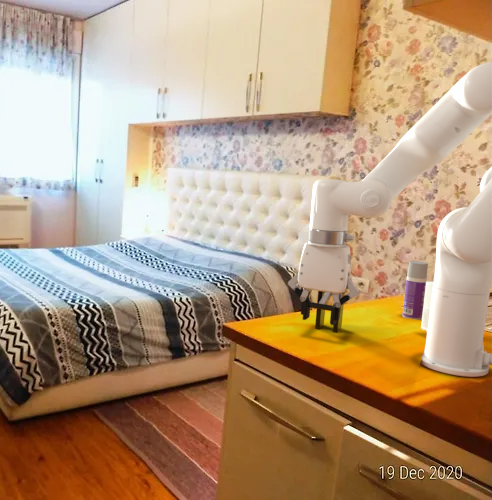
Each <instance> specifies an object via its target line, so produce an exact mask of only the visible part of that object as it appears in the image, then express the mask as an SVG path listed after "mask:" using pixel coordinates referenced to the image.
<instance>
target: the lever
mask: <svg viewBox="0 0 492 500" xmlns="http://www.w3.org/2000/svg"><path fill="white" fill-rule="evenodd" d="M331 297H333V296H332V293H330V292H325V294H324V296H323V297H322V299H321V300H320V302H319V303H317V302H315V301H314V302H312V301H311V302H309V303H308V307H310V309H315V310H317V309H322V310H325V311H328V312H331V308H332V306H333V305H332V304H328V302H329V301H330V298H331Z"/></svg>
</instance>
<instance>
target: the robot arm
mask: <svg viewBox="0 0 492 500" xmlns="http://www.w3.org/2000/svg"><path fill="white" fill-rule="evenodd" d="M490 116H492V61H489V62H483V63H481V64H479V65H476V66H475V67H473V68H472V69H470V70H469V71H468V72H466V73H465V75H463V76H462V77H461V78H460V79H459V80H458V81H457V82H456V83H454V85H452V86H451V88H450V89H449V90H447V92H446V93H444V95H443V96H442V97H441V98H440V99H439V100H438V101H437V102H436V103H435V104H434V105H433V106H432V107H430V109H429V110H427V112H426V113H425V114H424V115H423V116H422V117H421V118H420V119H419V120H418V121H417V122H416V123H414V125H413V126H411V128H410V129H408V130H407V132H406V133H405V134H404V135H403V136H402V137H401V139H399V141H398V142H397V144H396V145H395V146H394V148H393V149H392V150H391V151H389V153H388V154H387V155H386V156H385V157H384V158H383V159H381V161H380V162H379V163H378V164H377V165H376V166H375V167H374V168H373V169H372V170H371V171H370V172H369V173H368V174H367V175H366V176H365V177H364V178H363V179H362V180H360V181H357V180H356V181H348V180H345V179H330V178H321V179H317V180H316V181H315V182H314V183H313V185H312V195H311V206H310V216H309V217H310V218H309V228H308V241H306V242H305V243H304V245H303V249H302V252H301V256H300V261H299V267H298V272H297V273H296V274H294V275H293V277H292V278H290V279H289V280H288V282H287V285H288V286H289V287H290V288H291V289H292V290H293V291H294V293H295V294H296V295H297V297H298V298H299V300H300V301H301V304H300V305H301V306H300V315H301V316H302V320H303V321H306V320H309V318H310V315H311V308H310V307H308V303H309V302H312V300H311V299H310V295H311V293H312V291H317V292H318V291H323V292H330V293H332V296H331V297H332V300H333V305H332V308H331V311H330V318H329V325H331V326H333V325H334V324H335V323H336V321H339V318H340V308H341V305H343V304H344V305H345V304H346V303H347V302H348V301H351V300H352V299H353V298H355V297H357V296H359V294H360V290H359V289H358V287H357V286H356V284H355V283H354V281H353V280H352V279H351V270H352V269H351V268H352V266H351V264H352V263H351V262H352V261H351V259H352V258H351V247H350V245H347V244H348V243H350V242H354V239H355V235H353V234H351V233H349V231H348V225H349V215H351V216H357V217H360V218H361V217H362V218H368V219H374V218H378V217H380V216H383V215H384V214H386V213H387V212H388V211H389V209H390V208H391V206H392V203H393V200H394V199H396V198H397V196H399V195H400V194H401V193H402V192H403V191H404V190H405V189H406V188H407V187H408V186H409V185H411V184H412V183H413V182H414V181H415V180H417V178H419V177H420V176H421V175H423V174H424V173H425V172H427V171H428V170H430V169H432V168H434V167H435V166H437V165H439V164H440V163H441V162H442V161H444V159H446V158H447V157H448V156H449V155H450V154H451V153H452V152H453V151H454V150H455V149H457V147H459V146H460V145H461V143H462V142H464V141H465V140H466V139H467V138H468V137H469V136H470V135H471V134H472V133H473V132H474V131H475V130H477V128H479V127H480V126H481V125H483V123H484V122H485V121H486V120H487V119H488V118H489V117H490ZM435 247H436V250H435V251H436V252H435V267H434V274H433V281H434V283H433V289H432V297H431V305H430V313H429V321H428V329H427V331H426V338H425V345H424V349H423V352H422V355H421V359H420V362H419V364H420V365H421V366H423V367H425V368H428V369H430V370H433V371H436V372H439V373H444V374H447V375H451V376H452V375H453V376H457V377H458V376H459V377H467V378H468V377H469V378H478V377H483V376H486V375H487V374H489V371H490V370H489V369H490V366H492V353H489V352H488V351H486V350H485V345H484V336H485V330H486V329H485V328H486V323H487V316H488V309H489V302H490V294H491V290H492V166H490V167H489V169H487V170H486V172H485V173H484V174H483V176H482V178H481V180H480V183H479V193H478V194H477V195H476V196H475V198H474V199H473V200H472V201H471V202H470V204H469V205H468V206H464V207H459V208H456V209H453V210H452V211H450V212H449V213H448V214H447V215H445V216H444V218H443V219H442V220H441V221H440V224H439V226H438V229H437V234H436V245H435ZM345 290H346V291H347V290H349V292H348V293H345V295H344V296H343V297H342V295H341V293H343V292H345Z"/></svg>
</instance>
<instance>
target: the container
mask: <svg viewBox="0 0 492 500" xmlns="http://www.w3.org/2000/svg"><path fill="white" fill-rule="evenodd" d="M428 267H429V263H428V262H426V261H420V260H409V261H408V266H407V273H406V279H405V289H404V298H403V305H402V306H403V308H402V315H401V316H402V317H403V318H404V319H410V320H416V321H422V314H423V305H424V296H425V287H426V282H428V280H427V279H428Z"/></svg>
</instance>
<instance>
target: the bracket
mask: <svg viewBox="0 0 492 500" xmlns="http://www.w3.org/2000/svg"><path fill="white" fill-rule="evenodd" d="M324 294H325V292H323V291H317V301H316V303H319V302H320V300H321V299H322V297H323V296H324ZM346 294H347V290H345V292H343V293H341V295H342V297H343V296H344V295H346ZM344 305H345V303H344V304H343V305H341V308H340V318H339V321H336V323H335V324H334V325H332V333H335V334H338V333H339V332H340V330H341V329H342V325H343V315H344ZM325 316H326V310H322V309H316V315H315V325H314V329H315V330H321V329H322V328H323V327H324V325H325V318H326V317H325Z"/></svg>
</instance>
